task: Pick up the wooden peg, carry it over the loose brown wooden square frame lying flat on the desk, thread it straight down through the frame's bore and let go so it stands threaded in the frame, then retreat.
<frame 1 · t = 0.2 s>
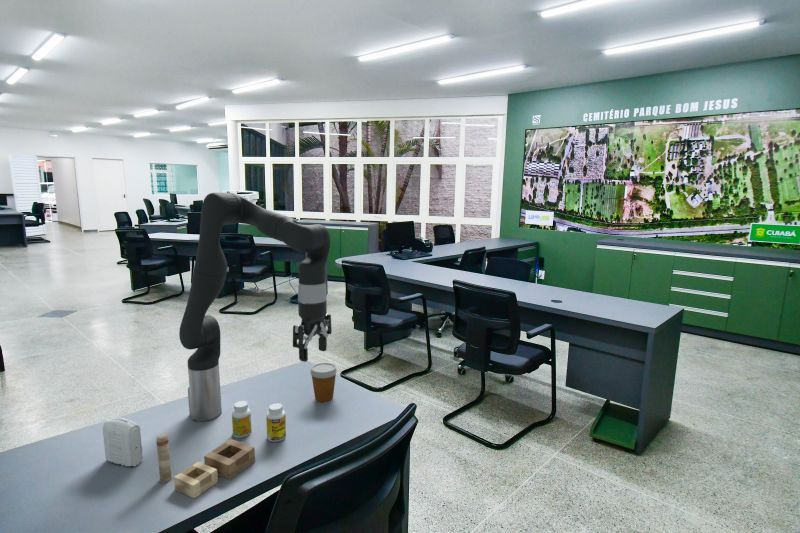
hand: (313, 355, 121), 29 cm above the table, fingers open, 8 cm apart
light wood hollow block: (196, 485, 110), on the table
brown wooden square frame: (230, 464, 119), on the table
photo printer: (124, 461, 120), on the table
supplement bottle 2: (242, 433, 134), on the table
wooden peg: (165, 479, 112), on the table
supplement bottle: (276, 438, 132), on the table
disposable coffee cup: (324, 399, 157), on the table
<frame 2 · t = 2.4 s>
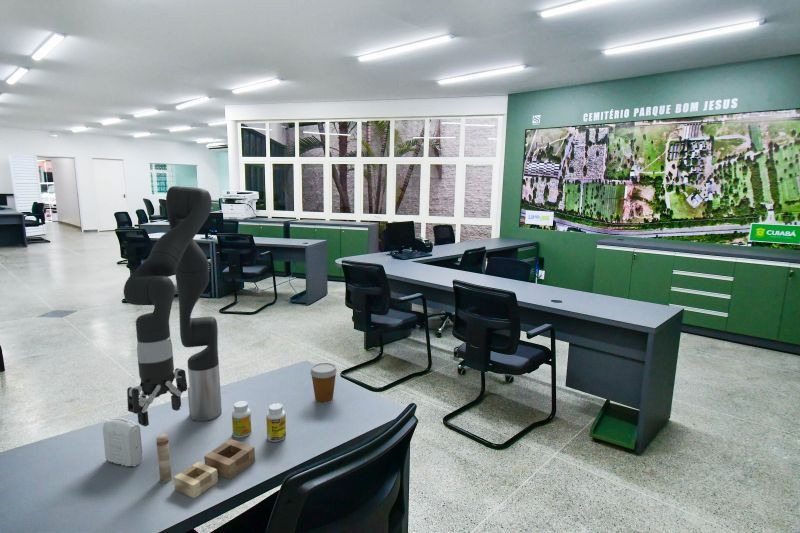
hand: (160, 417, 109), 17 cm above the table, fingers open, 8 cm apart
nothing on the table moved.
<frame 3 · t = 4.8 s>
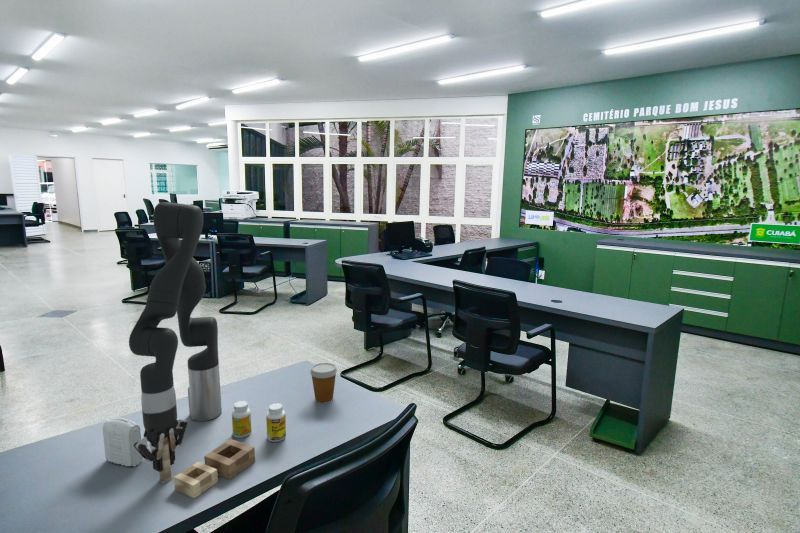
hand: (164, 466, 112), 4 cm above the table, fingers closed on wooden peg, 2 cm apart
wooden peg: (165, 479, 112), on the table, touching gripper
everything else where it was.
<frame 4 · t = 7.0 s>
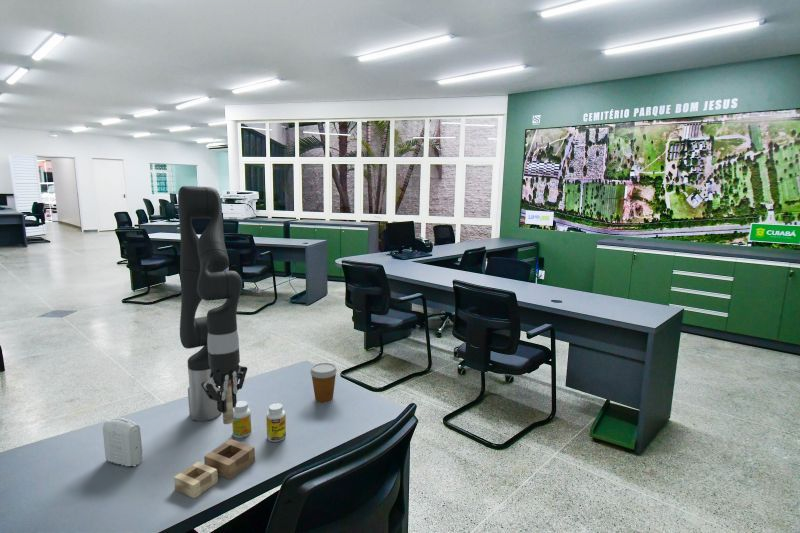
hand: (227, 409, 116), 16 cm above the table, fingers closed on wooden peg, 2 cm apart
wooden peg: (228, 421, 117), point 13 cm above the table, touching gripper
everything else where it was.
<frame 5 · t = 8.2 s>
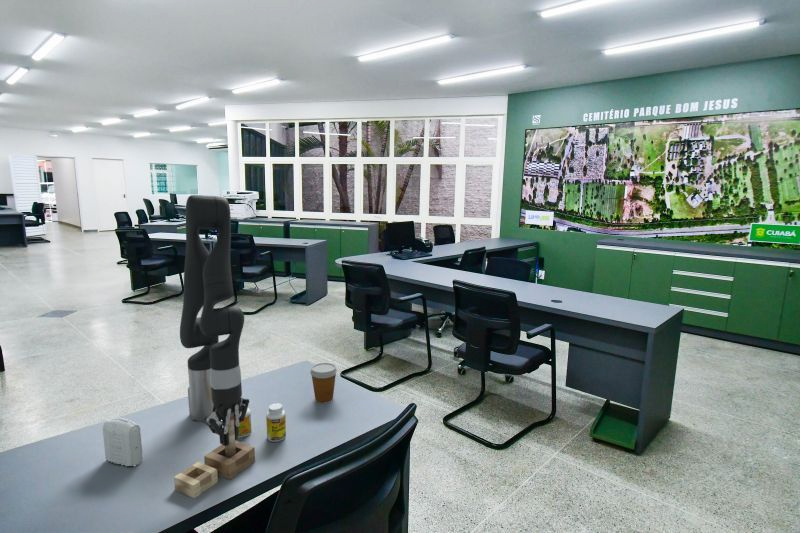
hand: (229, 441, 118), 7 cm above the table, fingers closed on wooden peg, 2 cm apart
wooden peg: (230, 453, 118), point 3 cm above the table, touching gripper
everything else where it was.
when the fingers open (5 cm above the table, at t = 9.2 s): wooden peg drops 1 cm, resting in brown wooden square frame.
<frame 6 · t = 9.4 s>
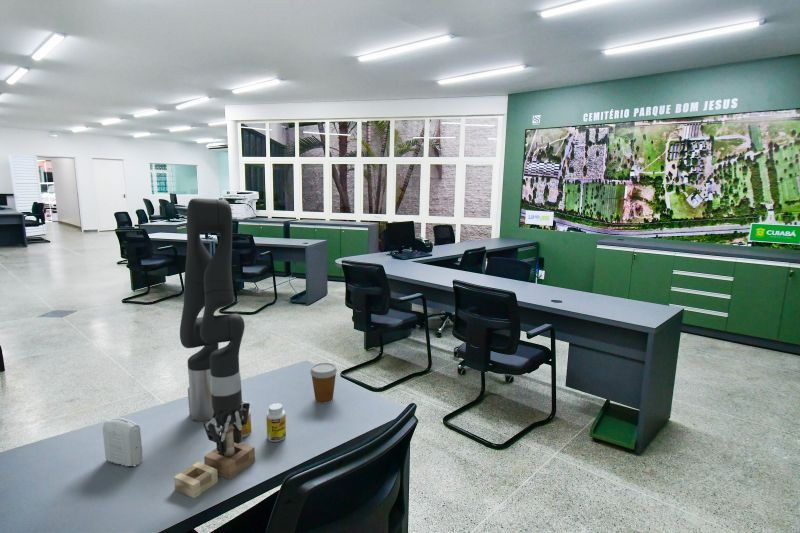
hand: (229, 447, 118), 5 cm above the table, fingers open, 4 cm apart
wooden peg: (230, 465, 119), resting in brown wooden square frame
everything else where it was.
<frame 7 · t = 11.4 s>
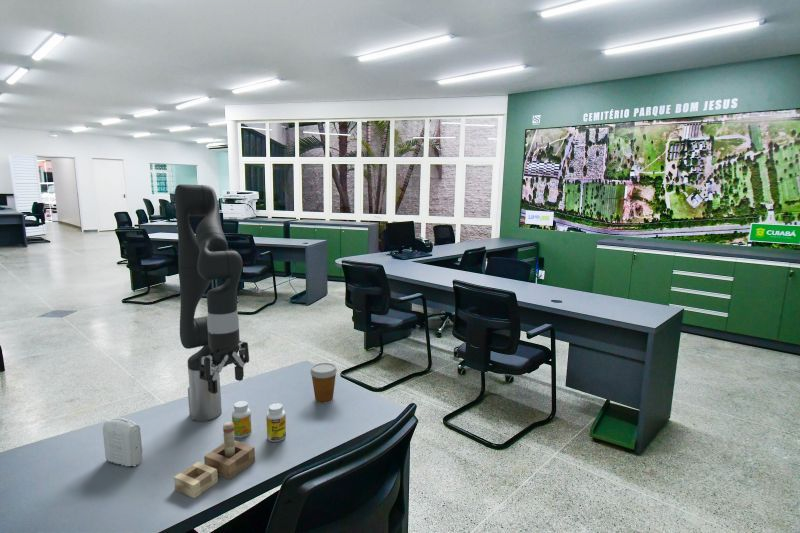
hand: (226, 386, 115), 23 cm above the table, fingers open, 8 cm apart
nothing on the table moved.
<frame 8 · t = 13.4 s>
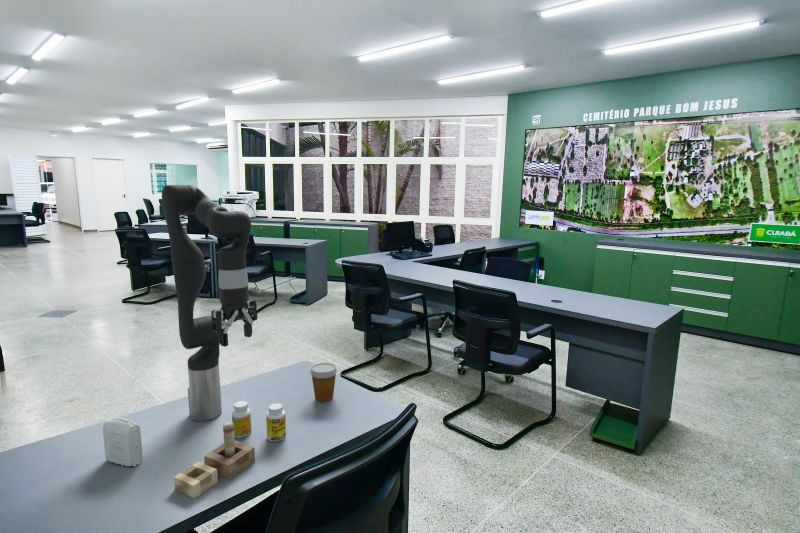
hand: (236, 341, 122), 32 cm above the table, fingers open, 8 cm apart
nothing on the table moved.
at the end: wooden peg 0.1 cm off-centre on the brown wooden square frame, point 0.0 cm above the brown wooden square frame's base; wooden peg tilted 0°; the gripper is holding nothing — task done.
